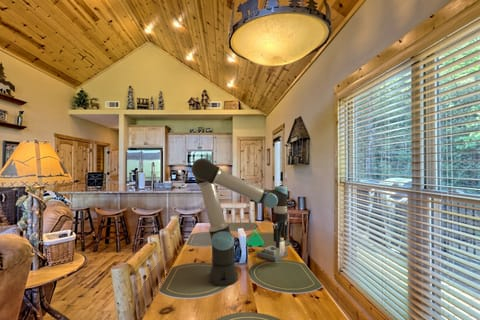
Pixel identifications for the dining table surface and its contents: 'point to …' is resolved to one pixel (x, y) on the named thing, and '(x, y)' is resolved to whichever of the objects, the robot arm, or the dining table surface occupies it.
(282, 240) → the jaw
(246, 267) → the dining table surface
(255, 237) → the green triangular block
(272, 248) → the housing
